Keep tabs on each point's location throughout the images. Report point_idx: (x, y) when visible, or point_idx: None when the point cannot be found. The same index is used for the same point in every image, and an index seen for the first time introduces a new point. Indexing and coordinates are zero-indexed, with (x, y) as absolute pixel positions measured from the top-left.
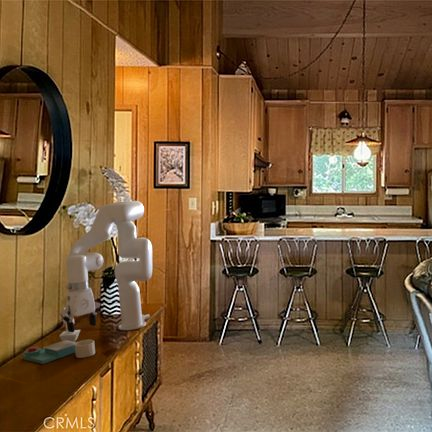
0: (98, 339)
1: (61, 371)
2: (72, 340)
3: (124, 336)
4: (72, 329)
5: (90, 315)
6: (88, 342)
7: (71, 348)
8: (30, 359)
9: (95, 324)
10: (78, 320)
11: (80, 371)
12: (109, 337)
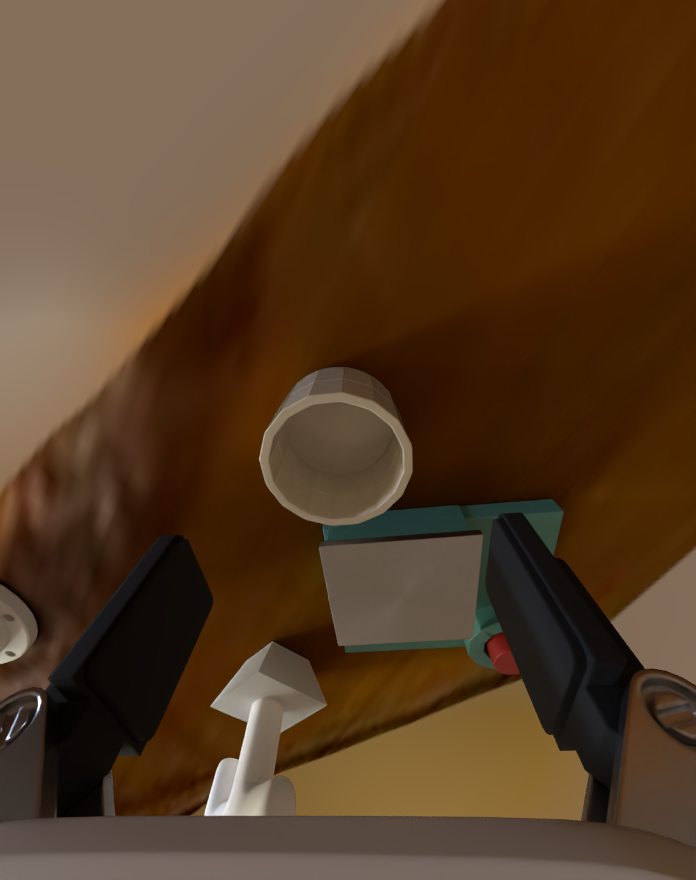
0: None
1: (635, 246)
2: (277, 651)
3: (36, 515)
4: (536, 542)
5: (122, 743)
6: (288, 486)
7: (374, 533)
8: None
9: (161, 540)
10: (155, 792)
11: (607, 48)
12: (116, 567)
